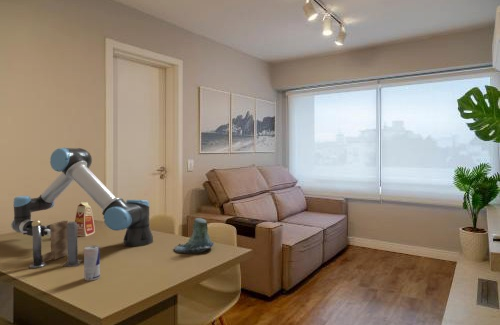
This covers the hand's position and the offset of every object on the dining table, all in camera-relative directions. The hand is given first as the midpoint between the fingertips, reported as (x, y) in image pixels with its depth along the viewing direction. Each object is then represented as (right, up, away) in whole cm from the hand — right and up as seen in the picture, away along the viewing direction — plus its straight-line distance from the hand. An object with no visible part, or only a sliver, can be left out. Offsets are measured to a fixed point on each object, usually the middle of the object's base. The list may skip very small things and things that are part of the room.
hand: (52, 233), depth 160 cm
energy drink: (+35, -10, -33) cm, 49 cm away
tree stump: (+68, -9, +5) cm, 69 cm away
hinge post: (+5, -10, -18) cm, 21 cm away
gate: (+7, -9, -9) cm, 15 cm away
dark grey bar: (+18, -10, -16) cm, 26 cm away
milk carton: (-4, -9, +38) cm, 39 cm away
